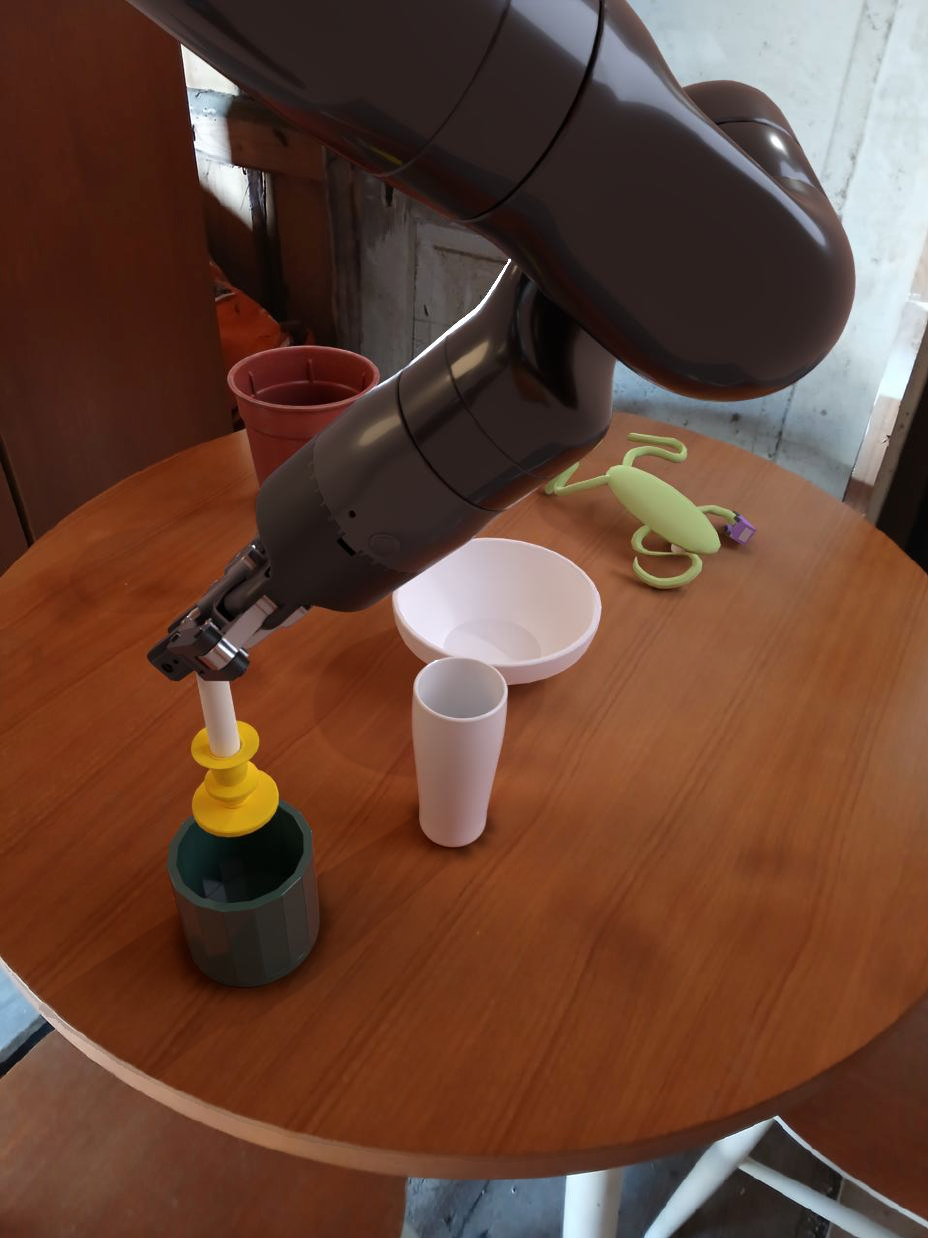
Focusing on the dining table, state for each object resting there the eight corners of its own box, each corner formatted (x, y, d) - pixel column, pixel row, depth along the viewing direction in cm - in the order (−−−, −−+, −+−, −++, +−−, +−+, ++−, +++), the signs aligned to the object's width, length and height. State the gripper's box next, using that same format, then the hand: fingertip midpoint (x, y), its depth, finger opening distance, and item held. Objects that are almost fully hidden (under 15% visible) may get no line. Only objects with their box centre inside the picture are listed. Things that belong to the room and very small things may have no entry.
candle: (208, 851, 53) (163, 651, 43) (181, 791, 57) (134, 592, 47) (292, 816, 55) (267, 618, 46) (261, 760, 59) (231, 565, 49)
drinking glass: (507, 808, 74) (523, 673, 64) (473, 871, 69) (485, 734, 59) (433, 779, 76) (438, 644, 66) (394, 838, 71) (394, 701, 61)
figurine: (651, 456, 122) (658, 418, 118) (786, 563, 103) (799, 521, 100) (531, 482, 115) (536, 442, 111) (653, 600, 97) (662, 557, 93)
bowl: (453, 572, 99) (455, 517, 94) (620, 632, 92) (631, 575, 88) (352, 675, 85) (350, 616, 81) (540, 755, 79) (549, 695, 74)
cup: (213, 1012, 59) (194, 935, 54) (170, 905, 65) (149, 826, 60) (341, 949, 63) (335, 871, 58) (289, 853, 69) (280, 775, 64)
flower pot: (222, 486, 111) (204, 360, 101) (342, 455, 118) (336, 335, 108) (278, 553, 100) (265, 420, 90) (406, 514, 108) (407, 387, 98)
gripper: (375, 364, 43) (180, 537, 53) (257, 511, 33) (40, 692, 42) (478, 479, 46) (273, 623, 55) (399, 649, 35) (163, 790, 45)
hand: (173, 653), depth 49 cm, fingers closed on candle
